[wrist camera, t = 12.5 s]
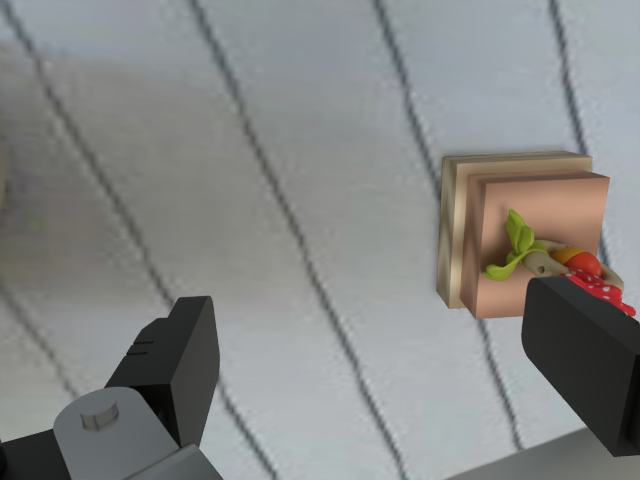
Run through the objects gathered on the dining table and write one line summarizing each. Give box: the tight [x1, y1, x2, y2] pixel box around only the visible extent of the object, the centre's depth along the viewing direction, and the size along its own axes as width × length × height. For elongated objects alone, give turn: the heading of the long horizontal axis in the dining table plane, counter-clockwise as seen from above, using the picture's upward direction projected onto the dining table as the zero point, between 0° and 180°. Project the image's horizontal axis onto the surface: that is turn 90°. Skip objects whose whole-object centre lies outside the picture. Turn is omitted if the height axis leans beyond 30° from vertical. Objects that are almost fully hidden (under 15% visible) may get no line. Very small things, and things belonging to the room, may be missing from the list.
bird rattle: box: [483, 209, 636, 316], centre depth 33 cm, size 6×11×9 cm
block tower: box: [437, 151, 610, 319], centre depth 41 cm, size 14×12×8 cm
